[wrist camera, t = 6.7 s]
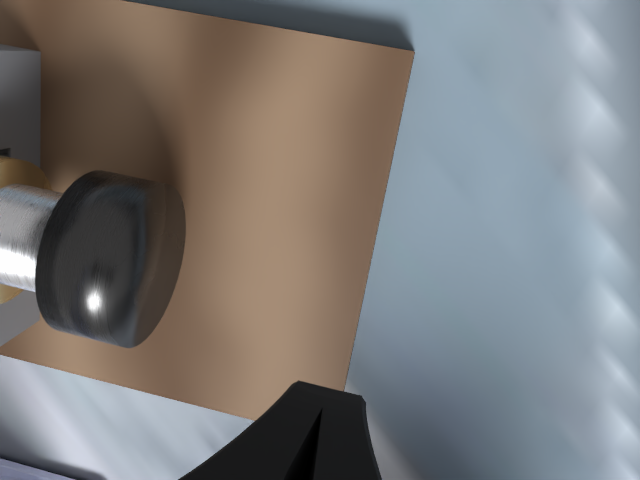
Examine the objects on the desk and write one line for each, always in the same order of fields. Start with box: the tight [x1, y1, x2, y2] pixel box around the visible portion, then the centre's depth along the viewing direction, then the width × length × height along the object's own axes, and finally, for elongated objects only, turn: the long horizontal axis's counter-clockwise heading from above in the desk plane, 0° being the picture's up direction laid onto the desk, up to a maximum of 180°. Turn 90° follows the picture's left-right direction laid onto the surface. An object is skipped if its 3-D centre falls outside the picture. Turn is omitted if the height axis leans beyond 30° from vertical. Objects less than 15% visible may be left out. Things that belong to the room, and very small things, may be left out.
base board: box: [0, 0, 415, 421], centre depth 21 cm, size 26×14×1 cm, turn 80°
